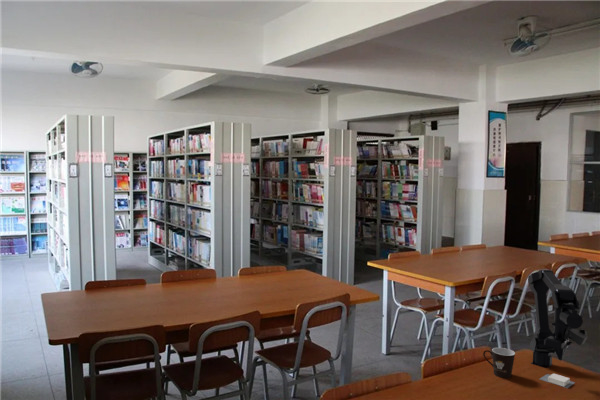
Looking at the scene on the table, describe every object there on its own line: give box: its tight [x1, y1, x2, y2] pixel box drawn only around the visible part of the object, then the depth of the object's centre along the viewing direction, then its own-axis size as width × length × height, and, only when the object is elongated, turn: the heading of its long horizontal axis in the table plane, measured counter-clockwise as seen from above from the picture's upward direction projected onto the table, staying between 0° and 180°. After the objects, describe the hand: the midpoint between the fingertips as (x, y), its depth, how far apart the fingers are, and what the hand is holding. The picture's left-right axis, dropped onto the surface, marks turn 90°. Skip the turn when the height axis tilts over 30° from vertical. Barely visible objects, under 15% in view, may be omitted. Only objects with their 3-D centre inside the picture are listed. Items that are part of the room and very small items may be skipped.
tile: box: [547, 373, 571, 388], centre depth 186 cm, size 6×2×6 cm
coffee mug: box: [482, 347, 516, 379], centre depth 193 cm, size 12×9×10 cm
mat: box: [539, 373, 576, 389], centre depth 187 cm, size 10×8×1 cm
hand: (560, 359), depth 186 cm, fingers closed
